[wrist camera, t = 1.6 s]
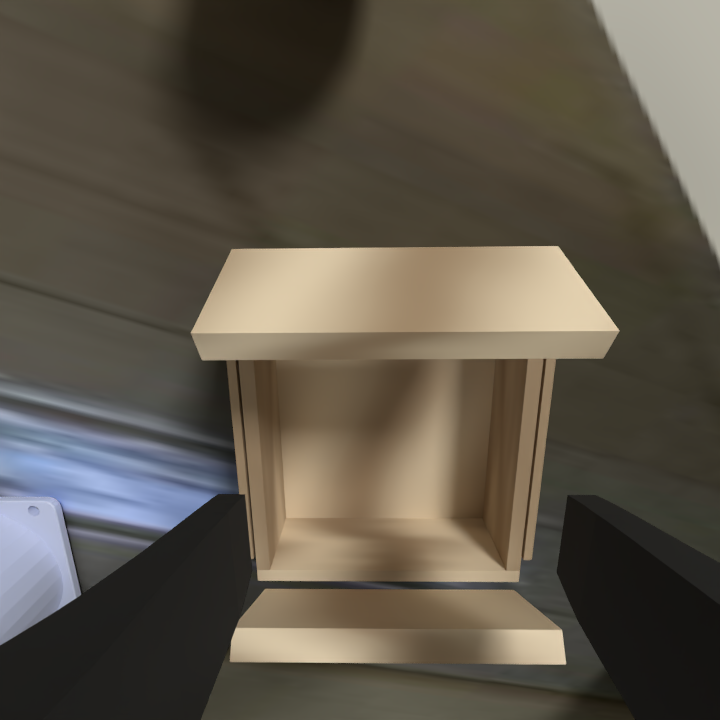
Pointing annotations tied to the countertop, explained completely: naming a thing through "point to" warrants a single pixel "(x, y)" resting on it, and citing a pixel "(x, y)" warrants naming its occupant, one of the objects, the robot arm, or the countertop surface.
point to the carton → (390, 466)
